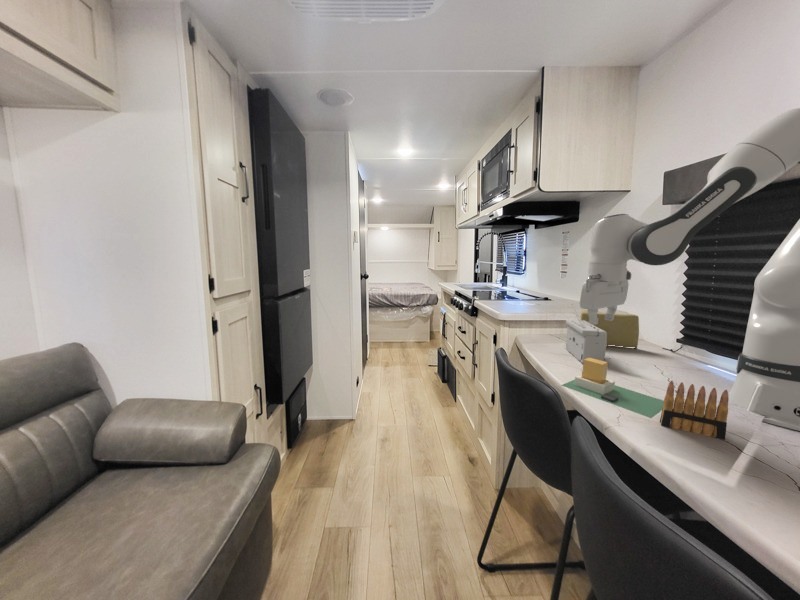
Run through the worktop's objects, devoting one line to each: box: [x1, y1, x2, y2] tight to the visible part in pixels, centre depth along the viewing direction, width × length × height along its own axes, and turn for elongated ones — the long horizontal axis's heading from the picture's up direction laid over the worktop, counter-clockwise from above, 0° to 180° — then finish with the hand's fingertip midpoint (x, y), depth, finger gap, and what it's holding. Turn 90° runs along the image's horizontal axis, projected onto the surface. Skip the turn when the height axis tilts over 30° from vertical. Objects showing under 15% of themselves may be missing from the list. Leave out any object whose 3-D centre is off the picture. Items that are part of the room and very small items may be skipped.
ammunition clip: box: [659, 380, 729, 441], centre depth 68 cm, size 11×2×12 cm, turn 59°
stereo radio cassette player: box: [565, 303, 607, 364], centre depth 121 cm, size 21×8×20 cm, turn 168°
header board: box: [561, 375, 664, 419], centre depth 87 cm, size 22×14×4 cm, turn 33°
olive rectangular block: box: [579, 309, 640, 349], centre depth 138 cm, size 22×10×15 cm, turn 60°
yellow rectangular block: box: [581, 358, 609, 384], centre depth 91 cm, size 6×4×8 cm, turn 34°
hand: (601, 322), depth 88 cm, fingers open, 8 cm apart
